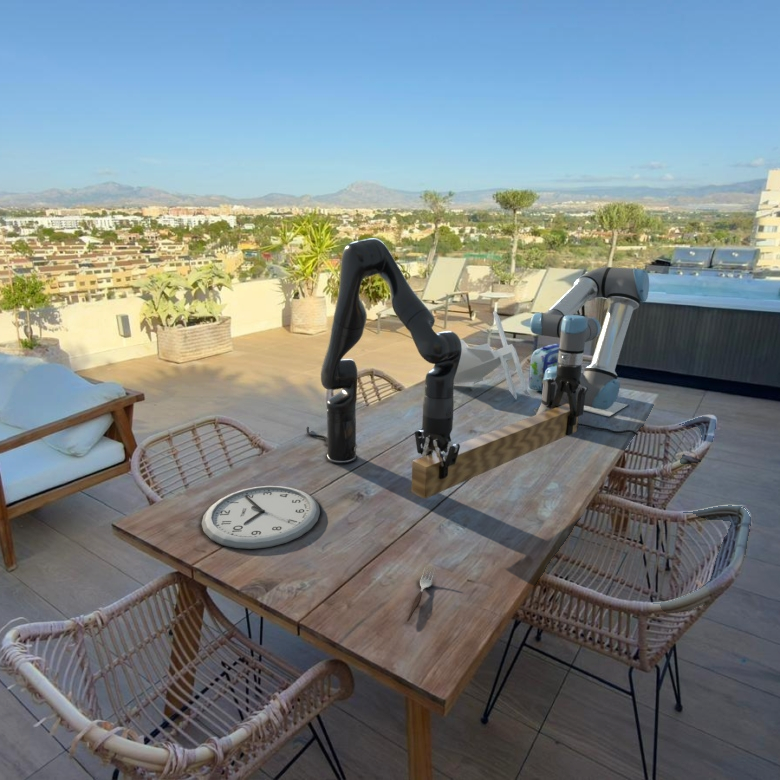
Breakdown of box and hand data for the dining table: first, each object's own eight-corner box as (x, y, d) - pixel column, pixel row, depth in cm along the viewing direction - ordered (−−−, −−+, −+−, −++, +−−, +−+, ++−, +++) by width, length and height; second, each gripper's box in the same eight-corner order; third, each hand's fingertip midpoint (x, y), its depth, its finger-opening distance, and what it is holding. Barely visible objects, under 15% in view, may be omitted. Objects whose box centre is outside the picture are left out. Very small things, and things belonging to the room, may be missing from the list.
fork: (401, 621, 101) (401, 612, 100) (424, 572, 115) (424, 565, 115) (413, 625, 100) (414, 616, 100) (435, 575, 114) (436, 567, 114)
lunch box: (545, 396, 239) (550, 351, 232) (524, 391, 246) (528, 347, 240) (572, 385, 256) (577, 343, 250) (552, 380, 263) (557, 339, 257)
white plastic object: (461, 429, 252) (437, 405, 227) (444, 352, 274) (420, 323, 250) (535, 404, 240) (518, 377, 215) (510, 326, 262) (492, 293, 237)
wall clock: (317, 540, 124) (186, 544, 121) (317, 546, 124) (187, 551, 121) (322, 481, 152) (216, 484, 150) (322, 486, 153) (216, 489, 150)
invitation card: (608, 416, 214) (573, 407, 224) (608, 416, 214) (573, 408, 224) (628, 404, 229) (594, 396, 238) (628, 405, 229) (594, 397, 238)
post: (563, 427, 180) (566, 403, 178) (576, 431, 177) (579, 407, 174) (411, 491, 134) (412, 460, 131) (424, 498, 130) (426, 467, 128)
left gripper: (407, 407, 132) (405, 468, 137) (448, 423, 122) (445, 489, 127) (428, 401, 137) (425, 461, 142) (470, 416, 127) (465, 480, 132)
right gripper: (538, 360, 172) (532, 426, 179) (588, 372, 159) (579, 442, 166) (552, 357, 177) (545, 421, 184) (601, 368, 163) (592, 437, 170)
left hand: (435, 474), depth 135 cm, fingers closed on post, 5 cm apart
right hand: (561, 431), depth 175 cm, fingers closed on post, 5 cm apart
